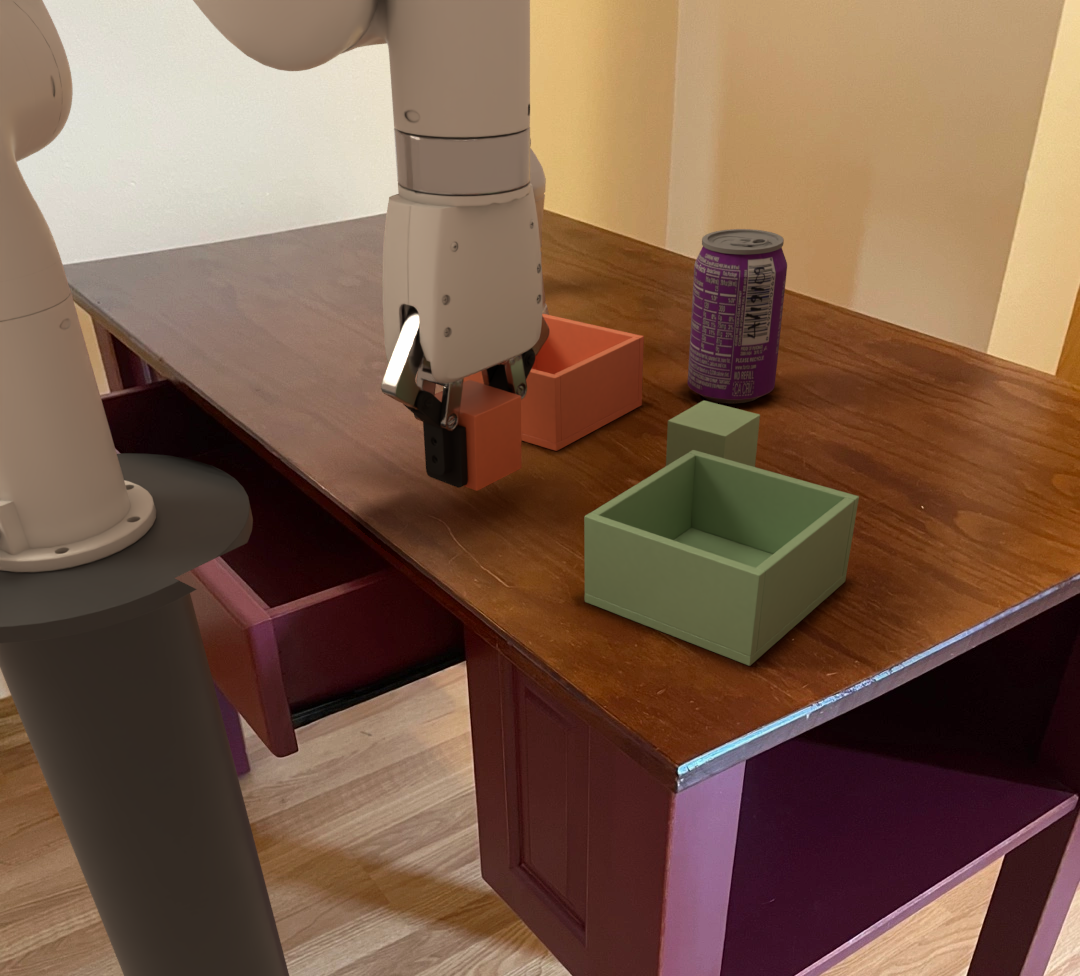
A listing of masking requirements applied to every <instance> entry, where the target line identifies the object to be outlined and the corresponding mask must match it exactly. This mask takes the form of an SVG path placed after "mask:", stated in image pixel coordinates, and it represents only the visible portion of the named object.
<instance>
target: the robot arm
mask: <svg viewBox="0 0 1080 976" xmlns="http://www.w3.org/2000/svg"><path fill="white" fill-rule="evenodd" d="M192 1H193V2H194V4H195V5H196V6H197V7H198V9H199V10H200V11H201V13H202V14H203V15H204V16H205V17H206V18H207V20H208V21H209V22H210V23H211V24H212V26H213V27H214V28H215V29H216V30H217V31H218V32H219V33H220V34H221V35H222V36H223V37H224V38H225V39H226V40H227V41H228V42H229V43H231V45H233V46H234V47H235V48H237V49H238V50H239V51H240V52H241V53H242V54H244V55H245V56H247V57H249V58H250V59H252V60H253V61H255V62H257V63H259V64H261V65H262V66H265V67H269V68H272V69H274V70H277V71H284V72H302V71H307V70H312V69H314V68H317V67H320V66H322V65H325V64H326V63H329V62H330V61H331V60H333V59H335V58H337V57H338V56H339V55H342V54H344V53H347V52H351V51H353V50H355V49H357V48H362V47H363V48H364V47H369V46H376V45H386V44H387V48H388V57H389V58H388V59H389V72H390V89H391V98H392V99H391V102H392V115H393V132H394V133H393V135H394V149H395V162H396V163H395V164H396V165H395V166H396V179H397V193H396V194H393V195H391V196H388V201H387V207H386V215H385V221H384V222H385V224H384V234H383V247H382V272H381V273H382V278H381V279H382V281H381V285H382V287H381V288H382V326H383V342H384V351H385V359H386V361H387V362H386V363H387V364H388V365H387V366H386V367H387V368H386V370H385V373H384V375H383V379H382V381H381V383H380V390H381V392H382V393H383V394H384V395H386V396H387V397H388V398H389V397H390V398H391V399H393V400H395V401H396V402H398V403H401V404H402V405H403V406H404V407H406V408H407V409H408V411H410V412H411V413H412V414H413V416H414V419H416V420H417V421H419V422H422V427H423V428H422V429H423V443H424V460H425V472H426V475H427V476H428V477H429V478H432V479H433V480H436V481H439V482H442V483H444V484H447V485H449V486H452V487H455V488H458V489H460V488H463V487H465V485H466V484H467V481H468V472H467V447H466V429H465V427H463V426H460V425H458V421H459V414H460V406H461V397H462V389H463V381H464V378H465V377H468V376H470V375H473V374H475V373H478V372H480V371H481V372H482V377H483V381H484V384H485V385H488V386H491V387H494V388H497V389H501V390H504V391H507V392H510V393H514V394H517V395H520V396H521V400H522V399H523V398H524V397H525V395H526V393H527V383H526V379H527V377H528V375H529V373H530V371H531V369H532V367H533V365H534V362H535V356H537V354H538V352H539V351H540V349H541V348H542V346H543V345H544V343H545V342H546V340H547V338H548V336H549V327H548V325H547V323H546V321H545V319H544V318H543V316H542V307H543V293H542V274H543V267H542V266H543V265H542V259H541V252H542V251H541V250H542V248H541V249H540V237H539V227H538V219H537V212H536V204H535V198H534V193H533V187H532V184H530V148H531V145H532V139H531V127H530V126H531V0H192ZM69 63H70V62H69V59H68V55H67V52H66V49H65V46H64V44H63V42H62V40H61V36H60V34H59V32H58V30H57V27H56V25H55V23H54V20H53V19H52V17H51V14H50V12H49V11H48V8H47V6H46V5H45V2H44V1H43V0H0V570H1V571H9V572H25V573H35V572H47V571H55V570H61V569H67V568H73V567H77V566H80V565H84V564H88V563H92V562H94V561H97V560H100V559H103V558H106V557H108V556H111V555H113V554H115V553H117V552H120V551H122V550H124V549H125V548H127V547H129V546H130V545H132V544H134V543H135V542H136V541H138V540H139V539H140V538H141V537H143V536H144V535H145V534H146V533H147V532H148V530H149V529H150V528H151V527H152V526H153V523H154V521H155V519H156V509H155V505H154V502H153V498H152V496H151V495H150V493H149V492H148V491H147V490H145V489H144V488H142V487H141V486H139V485H137V484H134V483H132V482H129V481H125V480H124V478H123V475H122V471H121V468H120V464H119V461H118V457H117V454H118V453H117V450H116V447H115V443H114V439H113V436H112V432H111V429H110V425H109V422H108V418H107V415H106V411H105V408H104V404H103V400H102V397H101V394H100V390H99V387H98V383H97V379H96V376H95V371H94V368H93V364H92V362H91V357H90V355H89V350H88V346H87V343H86V340H85V337H84V333H83V329H82V326H81V322H80V319H79V315H78V312H77V307H76V305H75V300H74V298H73V294H72V290H71V289H70V285H69V283H68V282H69V281H68V278H67V275H66V272H65V268H64V265H63V262H62V258H61V254H60V252H59V248H58V247H57V243H56V241H55V238H54V236H53V233H52V231H51V228H50V226H49V224H48V222H47V220H46V218H45V216H44V214H43V212H42V210H41V208H40V206H39V205H38V202H37V201H36V199H35V197H34V196H33V194H32V192H31V190H30V189H29V186H28V184H27V183H26V180H25V179H24V176H23V174H22V172H21V170H20V167H19V165H18V162H20V161H21V160H24V159H26V158H28V157H30V156H31V155H32V156H33V155H34V154H37V153H38V152H39V151H41V150H43V149H45V147H47V146H48V145H50V144H51V143H52V142H53V141H55V140H56V139H57V137H58V136H59V135H60V134H61V132H62V131H63V129H64V127H65V126H66V123H67V121H68V120H69V117H70V113H71V109H72V105H73V94H74V93H73V88H74V87H73V78H72V77H73V76H72V71H71V67H70V64H69ZM437 385H438V386H442V391H443V394H442V402H440V401H439V400H438V399H437V398H436V397H435V394H436V386H437Z"/></svg>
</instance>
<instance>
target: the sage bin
mask: <svg viewBox="0 0 1080 976" xmlns="http://www.w3.org/2000/svg"><path fill="white" fill-rule="evenodd" d="M859 499H860V495H856V494H852V493H849V492H845V491H841V490H838V489H835V488H831V487H827V486H824V485H820V484H817V483H813V482H809V481H806V480H802V479H798V478H795V477H792V476H788V475H784V474H781V473H778V472H774V471H770V470H767V469H763V468H760V467H757V466H755V467H753V466H749V465H746V464H742V463H738V462H735V461H731V460H728V459H724V458H721V457H717V456H714V455H710V454H706V453H703V452H699V451H696V450H692V451H690V452H689V453H687V454H685V455H684V456H682V457H680V458H679V459H677V460H676V461H674V462H672V463H671V464H669V465H667V466H666V465H665V466H664V467H662V468H661V469H659V470H657V471H656V472H655V473H653V474H651V475H649V476H647V477H646V478H644V479H643V480H641V481H640V482H638V483H636V484H635V485H633V486H631V487H630V488H628V489H627V490H625V491H624V492H622V493H620V494H618V495H616V496H615V497H613V498H612V499H610V500H609V501H607V502H606V503H604V504H602V505H601V506H599V507H597V508H596V509H594V510H592V511H591V512H589V513H587V514H585V515H584V517H583V520H584V521H583V522H584V525H583V527H584V529H583V530H584V531H583V533H584V534H583V535H584V536H583V539H584V545H583V547H584V548H583V549H584V551H583V552H584V559H583V561H584V602H585V603H587V604H589V605H592V606H595V607H597V608H600V609H602V610H605V611H607V612H610V613H612V614H615V615H618V616H620V617H623V618H625V619H627V620H631V621H633V622H635V623H638V624H641V625H643V626H645V627H649V628H651V629H653V630H656V631H658V632H661V633H663V634H666V635H669V636H671V637H673V638H677V639H679V640H682V641H684V642H686V643H690V644H692V645H695V646H697V647H700V648H701V649H705V650H707V651H709V652H713V653H715V654H718V655H720V656H723V657H726V658H727V659H730V660H733V661H736V662H738V663H741V664H744V665H746V666H748V667H751V666H752V665H753V664H754V663H755V662H756V661H757V660H758V659H760V658H761V657H762V656H763V655H764V654H765V653H766V652H767V651H769V650H770V649H771V648H772V647H773V646H774V645H775V644H776V643H778V642H779V641H780V640H781V639H782V638H783V637H785V635H787V634H788V633H789V632H790V631H791V630H792V629H794V627H796V626H797V625H798V624H799V623H800V622H802V620H804V619H805V618H806V617H807V616H808V615H809V614H810V613H812V612H813V611H814V610H815V609H816V608H817V607H819V605H821V604H822V603H823V602H824V601H825V600H826V599H827V598H828V597H830V596H831V595H832V594H833V593H834V592H835V591H836V590H837V589H839V588H840V587H841V586H842V585H843V584H844V583H846V580H847V572H848V566H849V559H850V555H851V554H850V553H851V549H852V543H853V536H854V529H855V524H856V518H857V511H858V505H859Z"/></svg>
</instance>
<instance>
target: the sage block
mask: <svg viewBox="0 0 1080 976" xmlns="http://www.w3.org/2000/svg"><path fill="white" fill-rule="evenodd" d="M760 420H761V414H760V413H755V412H752V411H747V410H744V409H739V408H735V407H732V406H727V405H724V404H721V403H719V404H718V403H717V402H713V401H709V400H701V401H700V402H698V403H696V404H695V405H692V406H691V407H690V408H688V409H686V410H684V411H683V412H680V413H679V414H677V415H675V416H674V417H672V418H670V419H668V420H667V428H666V429H667V430H666V453H665V454H666V455H665V467H666V466H667V465H669V464H671V463H672V462H674V461H676V460H677V459H679V458H680V457H682V456H684V455H685V454H687V453H689V452H690V451H692V450H696V451H699V452H703V453H706V454H710V455H714V456H717V457H721V458H724V459H728V460H731V461H735V462H738V463H742V464H746V465H749V466H753V467H756V461H757V451H758V441H759V440H758V439H759V430H760V429H759V428H760Z"/></svg>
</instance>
